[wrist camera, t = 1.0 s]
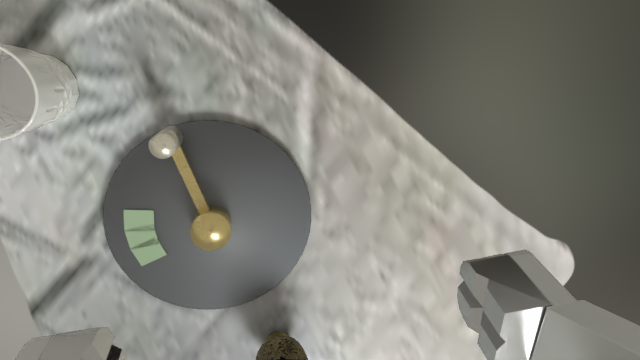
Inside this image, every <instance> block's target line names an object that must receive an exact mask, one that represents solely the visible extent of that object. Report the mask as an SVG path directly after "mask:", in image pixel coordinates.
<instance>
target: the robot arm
mask: <svg viewBox="0 0 640 360" xmlns="http://www.w3.org/2000/svg"><path fill="white" fill-rule="evenodd" d="M460 275H461V277H462V278H463V280H464V281H463V282H462V283H461V284H460V285H459V287H458V294H457V299H458V304H459V309H460V311H461V314H462V317H463V319H464V320H465V322H466V324H467V326H468V327H469V328H471V329H473V330H474V331H476V332H477V333H479V337H478V345H479V347H480V348H481V350H482V352H483V354H484V355H485V357H486V359H487V360H640V326H638V325H636V324H634V323H632V322H630V321H627V320H625V319H623V318H621V317H619V316H617V315H615V314H612V313H610V312H608V311H606V310H604V309H601V308H599V307H597V306H595V305H593V304H591V303H589V302H587V301H584V300H582V301H576V299H575V298H574V297H573V296H572V295H571V294H570V293H569V292H568V291H567V290H566V289H565V288H564V287H563V286H562V285H561V284H560V283H559V282H558V280H557V279H556V278H555V277H554V276H553V275H552V274H551V273H550V272H549V271H548V270H547V269H546V268H545V267H544V266H543V265H542V264H541V263H540V261H539V260H538V259H537V258H536V257H535V256H534V255H533V254H532V253H531V252H529V251H527V250H520V251H515V252H510V253H505V254H499V255H493V256H488V257H483V258H478V259H473V260H467V261H463V263H462V264H461V267H460ZM114 337H115V336H114V335H113V333H112V332H111V330H110V329H109V327H99V328H92V329H86V330H79V331H73V332H66V333H60V334H56V335H50V336H43V337H37V338H32V339H31V340H30V341H28V342H27V343H26V344H25V345H24V346H23V348H22V349H21V351H20V353H19V354H18V356H17V358H16V359H15V360H127V358H126V356H125V354H124V352H123V350H122V349H120V348H118V347H116V346H114V345H112V342H113V340H114Z"/></svg>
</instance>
